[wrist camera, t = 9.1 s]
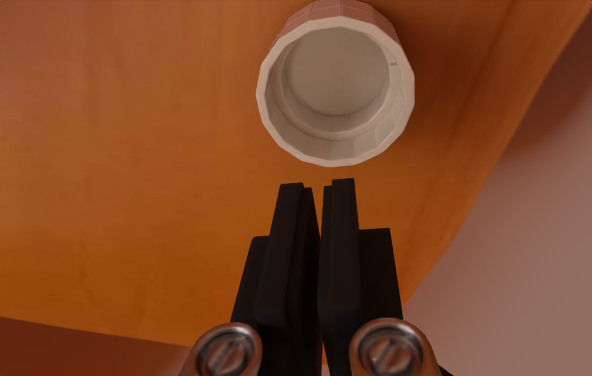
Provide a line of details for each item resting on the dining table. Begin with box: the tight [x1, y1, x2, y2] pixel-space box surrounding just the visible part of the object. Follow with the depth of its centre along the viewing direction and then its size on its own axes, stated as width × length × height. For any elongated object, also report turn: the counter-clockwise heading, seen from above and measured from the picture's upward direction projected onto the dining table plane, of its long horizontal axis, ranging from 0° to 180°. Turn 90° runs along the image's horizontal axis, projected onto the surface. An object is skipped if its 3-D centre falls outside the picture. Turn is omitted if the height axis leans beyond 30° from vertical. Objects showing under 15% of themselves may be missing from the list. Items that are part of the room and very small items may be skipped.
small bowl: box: [256, 0, 415, 167], centre depth 20 cm, size 7×7×4 cm
